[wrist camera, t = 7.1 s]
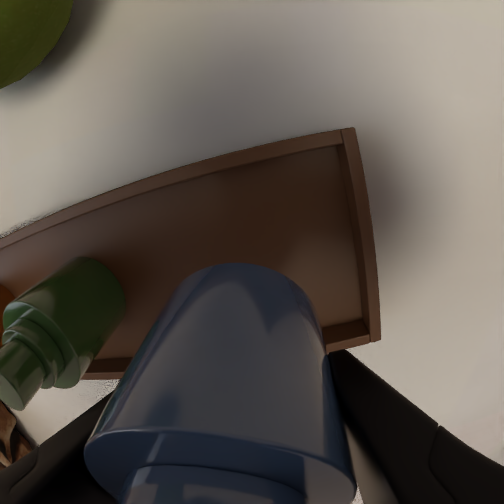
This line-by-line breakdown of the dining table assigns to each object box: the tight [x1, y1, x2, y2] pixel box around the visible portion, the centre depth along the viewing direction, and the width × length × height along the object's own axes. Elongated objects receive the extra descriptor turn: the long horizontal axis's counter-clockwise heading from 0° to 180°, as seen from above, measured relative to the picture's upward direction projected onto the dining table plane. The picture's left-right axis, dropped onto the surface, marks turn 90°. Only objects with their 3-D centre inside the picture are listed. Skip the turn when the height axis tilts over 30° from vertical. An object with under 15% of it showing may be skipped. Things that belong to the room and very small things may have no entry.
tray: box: [0, 127, 381, 380], centre depth 15 cm, size 28×10×2 cm, turn 104°
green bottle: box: [0, 257, 126, 411], centre depth 12 cm, size 5×5×8 cm
